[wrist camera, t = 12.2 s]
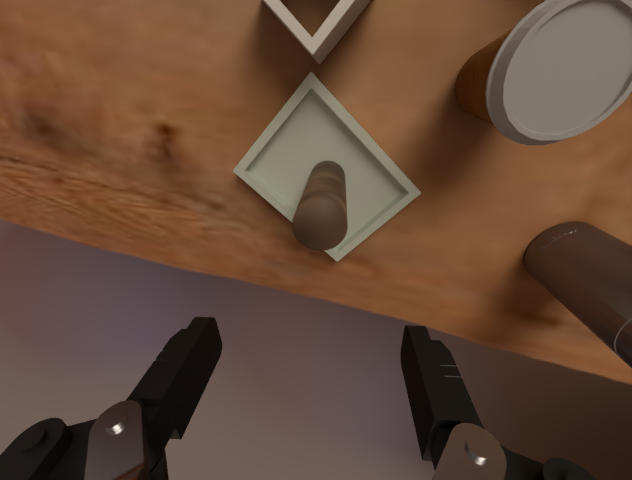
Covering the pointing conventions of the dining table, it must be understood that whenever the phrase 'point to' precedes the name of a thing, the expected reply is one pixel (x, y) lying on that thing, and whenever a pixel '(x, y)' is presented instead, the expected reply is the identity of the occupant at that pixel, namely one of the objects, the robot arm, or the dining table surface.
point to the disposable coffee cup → (552, 71)
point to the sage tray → (325, 145)
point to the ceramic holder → (330, 30)
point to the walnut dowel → (322, 208)
